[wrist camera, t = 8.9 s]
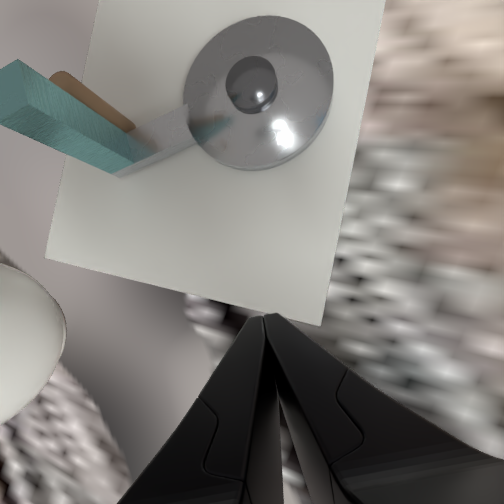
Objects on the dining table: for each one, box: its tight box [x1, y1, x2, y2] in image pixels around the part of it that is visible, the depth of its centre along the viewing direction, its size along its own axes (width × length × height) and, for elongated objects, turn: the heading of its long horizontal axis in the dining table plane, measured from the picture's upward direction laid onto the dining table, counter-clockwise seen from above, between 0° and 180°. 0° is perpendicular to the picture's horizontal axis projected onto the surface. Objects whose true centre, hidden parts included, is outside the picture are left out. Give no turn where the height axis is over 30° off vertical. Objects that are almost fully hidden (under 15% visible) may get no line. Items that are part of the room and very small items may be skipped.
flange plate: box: [0, 15, 334, 178], centre depth 17 cm, size 16×10×9 cm, turn 108°
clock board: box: [44, 0, 386, 326], centre depth 20 cm, size 22×22×7 cm
